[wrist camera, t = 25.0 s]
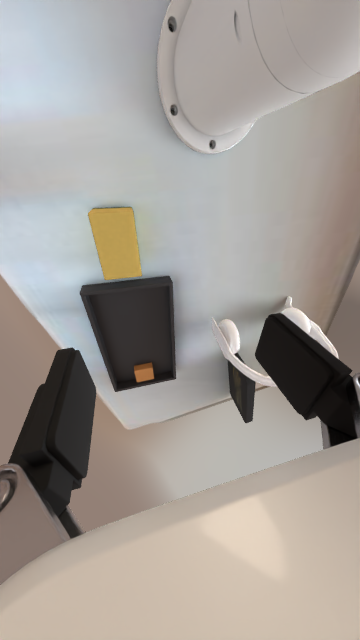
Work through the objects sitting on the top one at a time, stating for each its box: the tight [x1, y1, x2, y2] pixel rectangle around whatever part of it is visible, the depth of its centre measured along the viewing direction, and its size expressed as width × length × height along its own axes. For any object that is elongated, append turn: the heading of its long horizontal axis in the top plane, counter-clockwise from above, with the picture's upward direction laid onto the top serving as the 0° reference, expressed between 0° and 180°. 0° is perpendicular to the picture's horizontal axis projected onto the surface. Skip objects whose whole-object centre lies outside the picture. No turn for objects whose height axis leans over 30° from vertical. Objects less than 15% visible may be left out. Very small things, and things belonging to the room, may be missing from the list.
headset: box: [212, 296, 338, 387], centre depth 37 cm, size 20×7×18 cm, turn 92°
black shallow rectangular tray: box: [80, 276, 176, 392], centre depth 38 cm, size 25×14×3 cm, turn 1°
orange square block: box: [134, 362, 154, 382], centre depth 44 cm, size 4×4×2 cm
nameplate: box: [228, 353, 255, 423], centre depth 51 cm, size 21×2×10 cm, turn 12°
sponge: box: [88, 207, 142, 280], centre depth 26 cm, size 8×5×5 cm, turn 1°
